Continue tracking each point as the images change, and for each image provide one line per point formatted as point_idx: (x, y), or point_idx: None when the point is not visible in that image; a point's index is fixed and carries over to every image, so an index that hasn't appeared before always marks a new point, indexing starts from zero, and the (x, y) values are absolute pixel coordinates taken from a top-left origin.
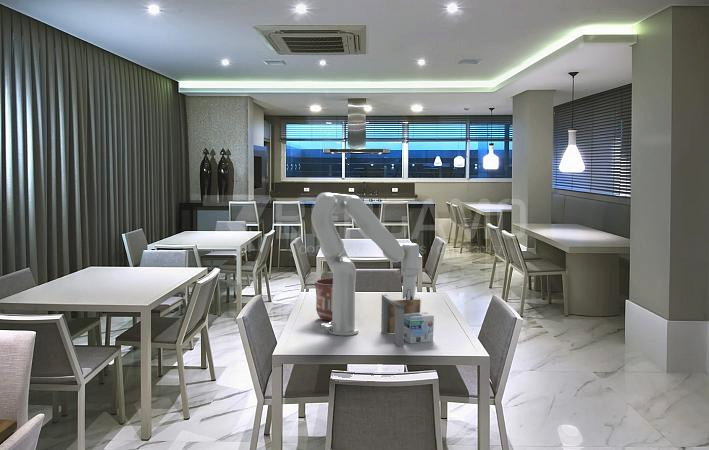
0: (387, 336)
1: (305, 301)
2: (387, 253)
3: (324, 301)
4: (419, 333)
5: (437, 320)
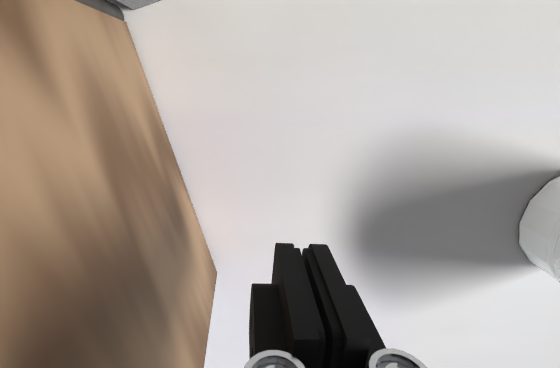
0: None
1: None
2: None
3: None
4: None
5: (533, 359)
